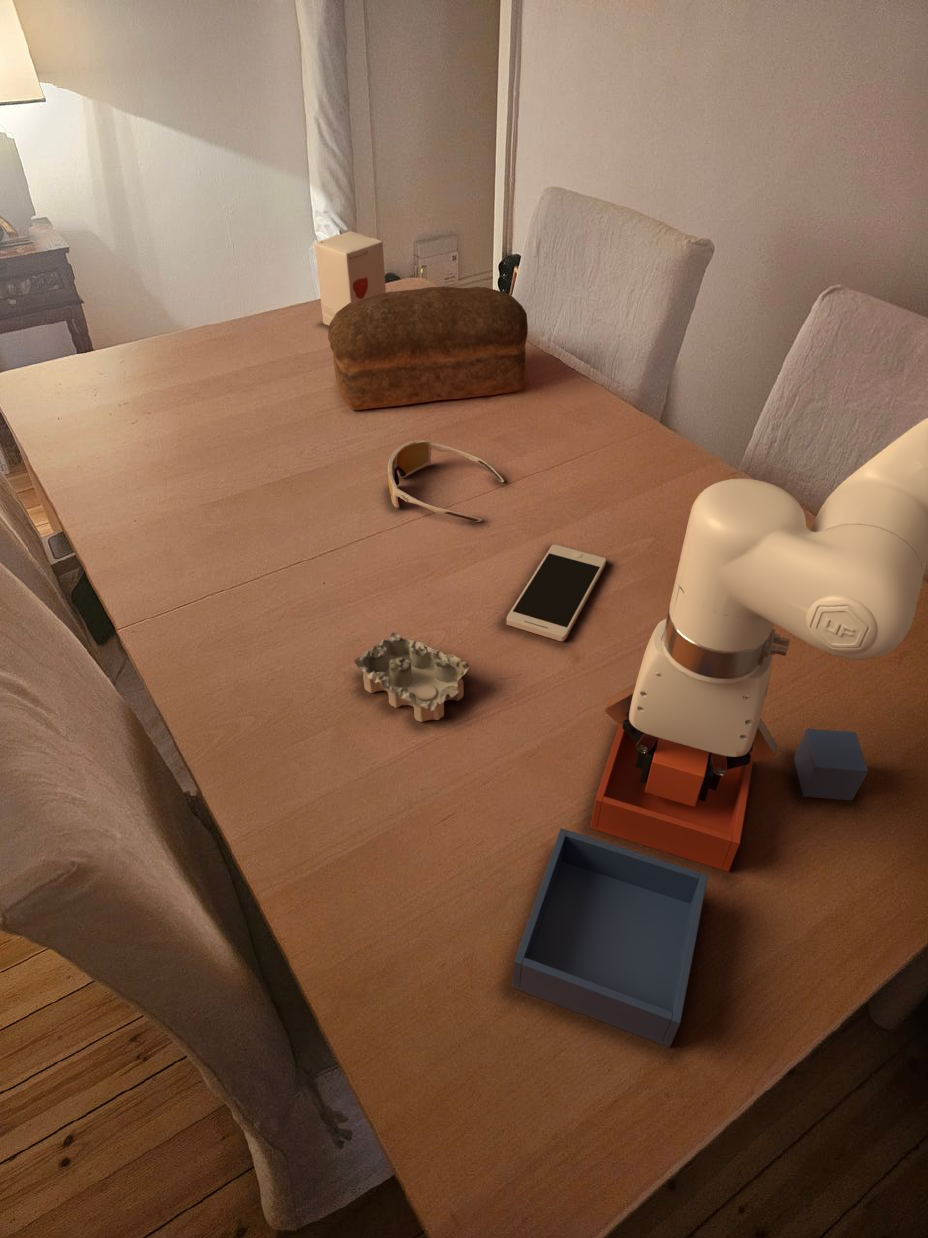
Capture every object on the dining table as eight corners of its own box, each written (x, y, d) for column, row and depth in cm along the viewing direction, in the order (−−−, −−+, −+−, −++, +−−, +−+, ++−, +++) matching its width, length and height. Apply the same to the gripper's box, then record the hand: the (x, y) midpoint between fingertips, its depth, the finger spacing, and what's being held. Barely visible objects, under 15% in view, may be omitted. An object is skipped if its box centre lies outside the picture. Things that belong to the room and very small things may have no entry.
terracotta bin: (746, 765, 79) (757, 735, 76) (728, 872, 70) (740, 843, 67) (621, 730, 82) (627, 700, 79) (590, 828, 74) (595, 799, 71)
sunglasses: (409, 455, 120) (412, 426, 117) (506, 486, 118) (512, 457, 115) (369, 508, 111) (371, 478, 107) (474, 543, 108) (479, 513, 105)
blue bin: (697, 903, 68) (708, 874, 65) (669, 1048, 60) (680, 1023, 57) (556, 856, 72) (560, 827, 69) (512, 988, 63) (514, 961, 60)
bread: (331, 375, 140) (319, 281, 129) (511, 356, 145) (514, 263, 134) (340, 416, 130) (328, 317, 119) (534, 394, 134) (539, 297, 124)
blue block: (841, 762, 79) (856, 732, 76) (852, 801, 76) (868, 771, 73) (793, 758, 79) (806, 728, 76) (802, 796, 76) (816, 767, 73)
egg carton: (474, 691, 86) (474, 664, 83) (426, 734, 82) (425, 707, 79) (400, 645, 91) (398, 618, 89) (352, 683, 87) (348, 656, 84)
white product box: (353, 337, 151) (345, 253, 141) (322, 324, 156) (312, 241, 146) (389, 322, 156) (384, 240, 146) (358, 310, 161) (350, 229, 150)
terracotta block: (703, 769, 76) (712, 738, 73) (694, 807, 73) (704, 776, 70) (654, 755, 77) (662, 724, 74) (644, 792, 74) (652, 761, 71)
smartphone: (606, 563, 102) (607, 557, 101) (564, 642, 91) (564, 636, 91) (552, 549, 104) (552, 543, 103) (504, 624, 94) (505, 618, 93)
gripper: (834, 630, 63) (774, 775, 75) (617, 580, 67) (594, 724, 80) (829, 699, 57) (765, 842, 70) (594, 639, 62) (573, 784, 74)
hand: (674, 778), depth 75 cm, fingers closed on terracotta block, 4 cm apart
